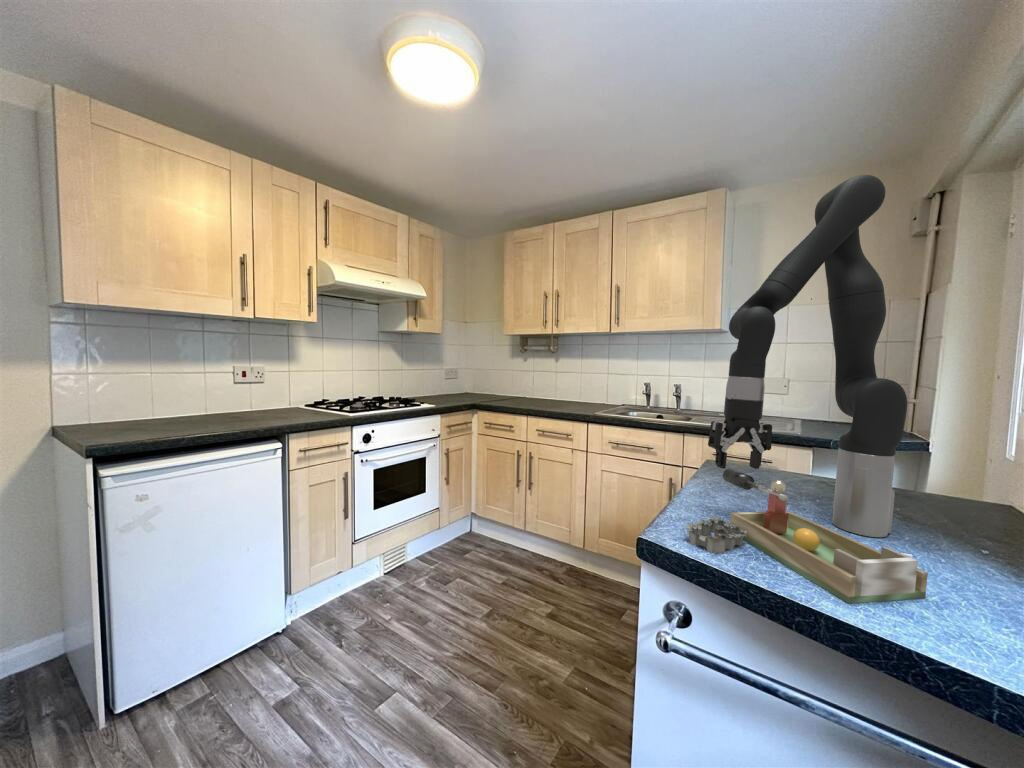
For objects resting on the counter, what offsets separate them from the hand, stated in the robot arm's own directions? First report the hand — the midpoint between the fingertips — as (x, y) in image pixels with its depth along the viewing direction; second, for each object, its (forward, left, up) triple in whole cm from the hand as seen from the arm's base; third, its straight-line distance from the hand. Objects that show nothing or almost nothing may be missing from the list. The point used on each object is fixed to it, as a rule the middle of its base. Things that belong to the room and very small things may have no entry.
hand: (737, 467), depth 91 cm
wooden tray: (0, +20, -12) cm, 23 cm away
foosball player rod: (0, +5, -10) cm, 11 cm away
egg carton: (+13, +12, -12) cm, 21 cm away
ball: (0, +18, -9) cm, 20 cm away
